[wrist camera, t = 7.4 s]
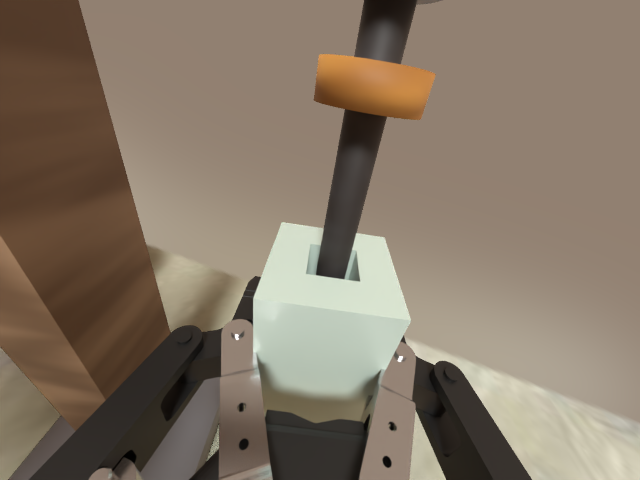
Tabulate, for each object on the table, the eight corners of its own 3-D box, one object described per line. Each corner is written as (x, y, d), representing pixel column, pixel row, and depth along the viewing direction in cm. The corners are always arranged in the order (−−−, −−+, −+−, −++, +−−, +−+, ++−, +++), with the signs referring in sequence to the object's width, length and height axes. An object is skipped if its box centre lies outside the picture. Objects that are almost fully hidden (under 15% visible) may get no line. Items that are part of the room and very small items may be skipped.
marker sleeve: (252, 425, 13) (253, 298, 8) (273, 339, 17) (281, 222, 12) (351, 437, 13) (410, 320, 8) (347, 348, 17) (384, 237, 12)
